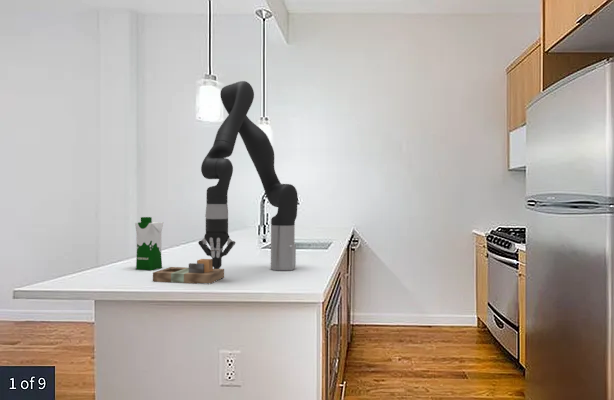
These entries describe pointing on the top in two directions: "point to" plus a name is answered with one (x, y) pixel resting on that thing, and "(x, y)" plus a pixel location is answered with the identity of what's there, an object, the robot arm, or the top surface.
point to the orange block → (206, 264)
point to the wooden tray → (188, 274)
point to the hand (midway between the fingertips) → (216, 268)
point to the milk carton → (148, 244)
